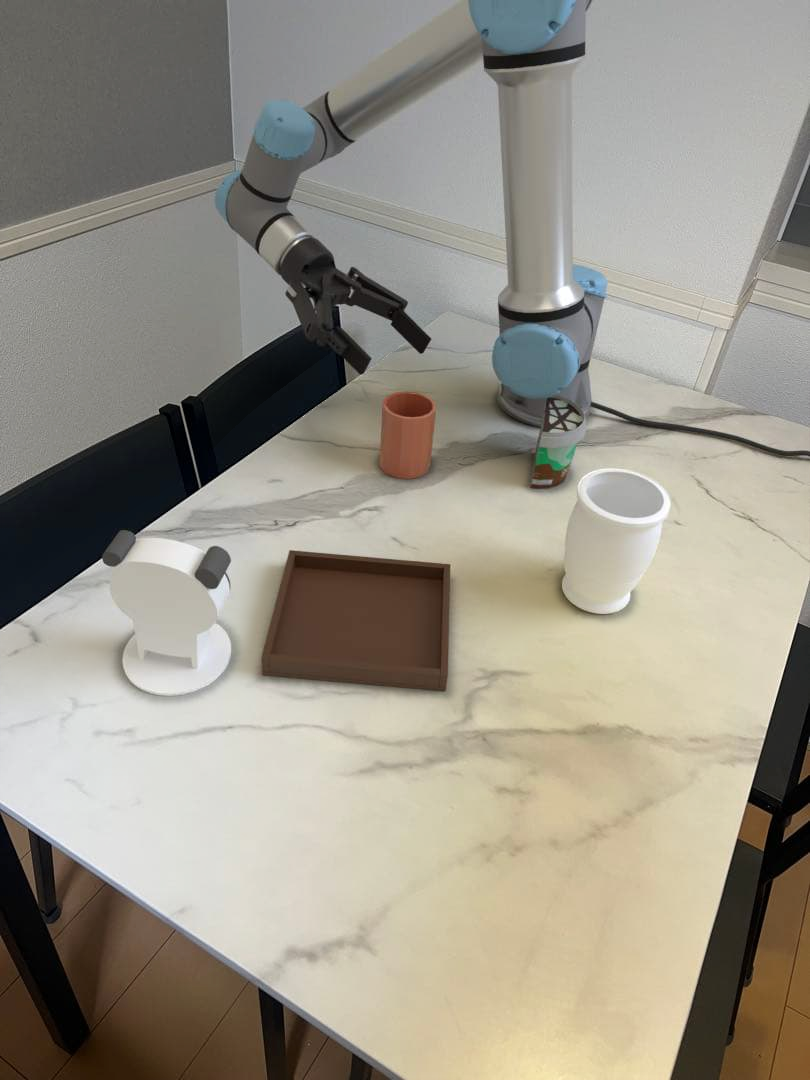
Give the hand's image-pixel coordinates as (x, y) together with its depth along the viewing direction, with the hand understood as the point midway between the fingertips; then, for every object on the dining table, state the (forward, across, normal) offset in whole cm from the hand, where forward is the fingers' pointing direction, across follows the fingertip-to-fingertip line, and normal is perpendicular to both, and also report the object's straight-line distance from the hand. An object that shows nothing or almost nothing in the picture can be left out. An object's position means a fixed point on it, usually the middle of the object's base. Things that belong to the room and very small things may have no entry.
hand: (397, 356), depth 111 cm
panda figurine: (+16, +45, -16) cm, 51 cm away
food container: (+25, -13, -4) cm, 29 cm away
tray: (+26, +29, -10) cm, 40 cm away
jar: (+42, +5, 0) cm, 42 cm away
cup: (+10, 0, -12) cm, 16 cm away
